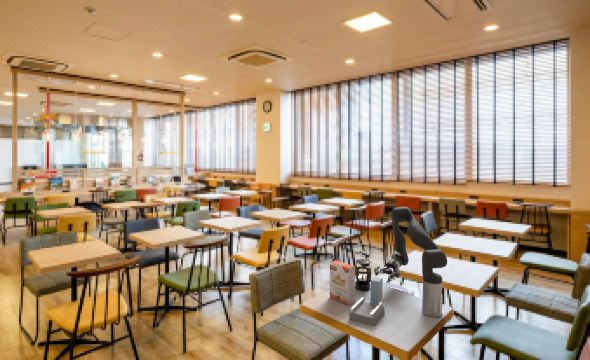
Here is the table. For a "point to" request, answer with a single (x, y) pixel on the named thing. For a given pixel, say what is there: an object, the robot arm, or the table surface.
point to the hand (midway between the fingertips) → (383, 275)
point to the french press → (362, 281)
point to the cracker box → (342, 282)
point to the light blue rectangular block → (376, 290)
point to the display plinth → (366, 312)
